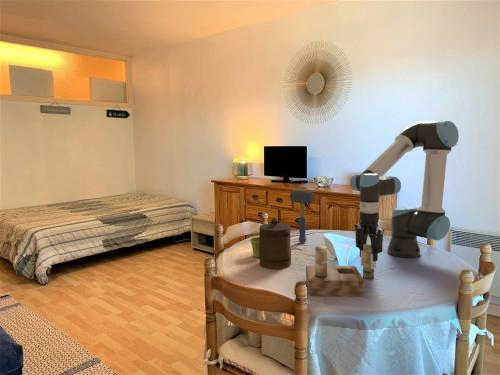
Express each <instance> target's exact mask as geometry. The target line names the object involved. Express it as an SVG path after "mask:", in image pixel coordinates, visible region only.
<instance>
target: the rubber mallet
mask: <svg viewBox="0 0 500 375" xmlns="http://www.w3.org/2000/svg"><path fill="white" fill-rule="evenodd" d="M289 199H290V201H291V202H292V203H297V204H299V217H298V218H299V219H298V228H299V236H298V241H299V243H300V244H305V243H306V242H307V237H306V226H307V225H306V222H307V221H306V216H305V214H306V213H305V204H307V205H309V204H312V203H314V202H315V194H314V192H313V190H305V189H293V190H291V191H290V193H289Z"/></svg>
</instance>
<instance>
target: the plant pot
mask: <svg viewBox="0 0 500 375" xmlns="http://www.w3.org/2000/svg"><path fill="white" fill-rule="evenodd" d="M249 241H250V244H251V249H252V256H253V257H254V258H259V236H254V237H251V238H250V239H249ZM259 259H260V258H259Z"/></svg>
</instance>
